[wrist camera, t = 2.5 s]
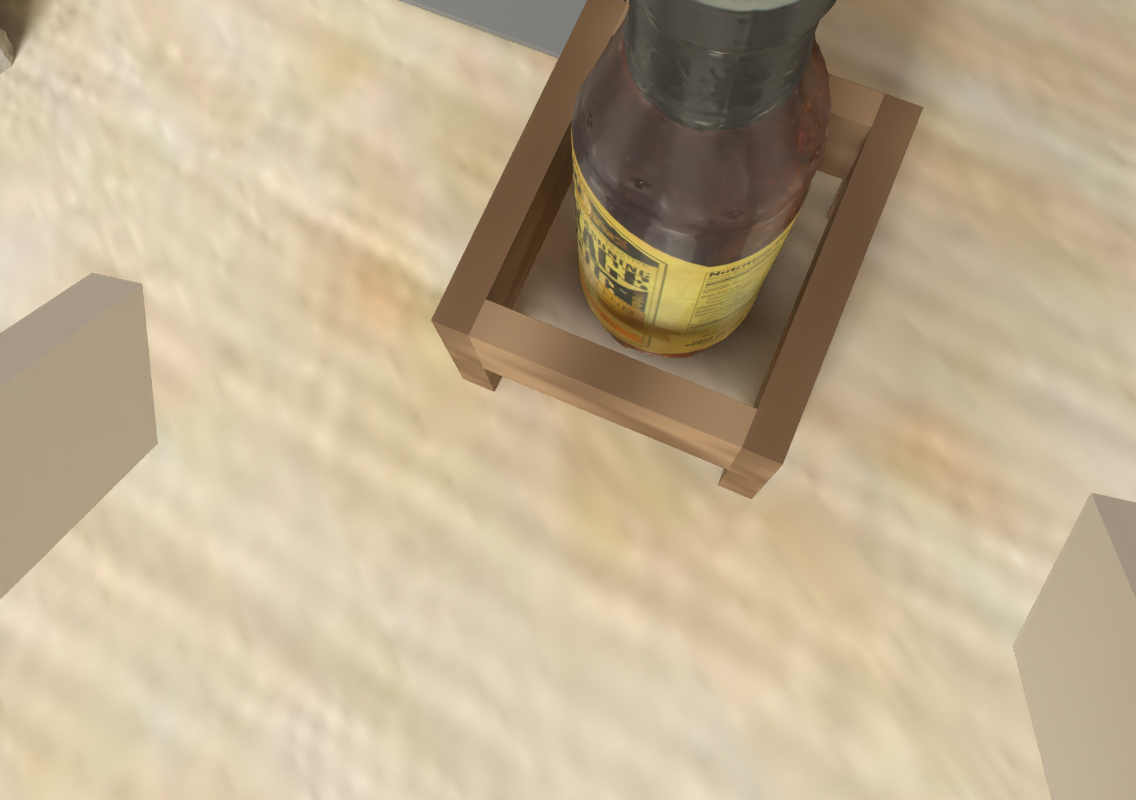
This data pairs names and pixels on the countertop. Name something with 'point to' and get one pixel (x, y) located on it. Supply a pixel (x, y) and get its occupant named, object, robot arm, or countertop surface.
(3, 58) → the egg carton
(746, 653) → the countertop surface
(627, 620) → the countertop surface
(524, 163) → the wooden square frame
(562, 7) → the slate mat
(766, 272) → the sauce bottle
